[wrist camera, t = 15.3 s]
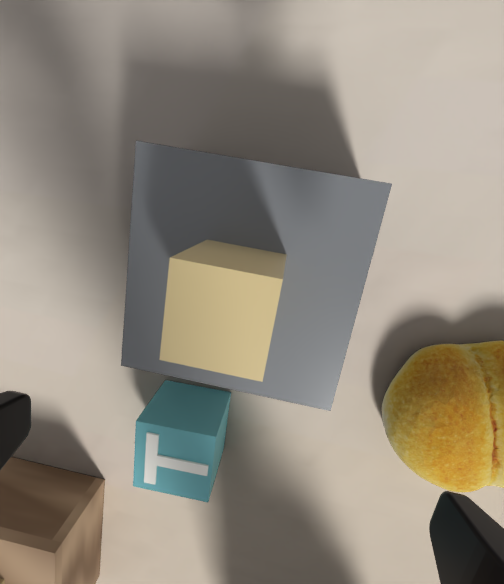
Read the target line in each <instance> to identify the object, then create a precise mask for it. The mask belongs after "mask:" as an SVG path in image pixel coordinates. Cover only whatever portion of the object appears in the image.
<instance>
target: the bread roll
mask: <svg viewBox="0 0 504 584" xmlns="http://www.w3.org/2000/svg"><path fill="white" fill-rule="evenodd" d="M382 420H383V425H384V427H385V431H386V435H387V437H388V439H389V441H390V444H391V446H392V447H393V449H394V451H395V452H396V454H397V455H398V456H399V458H400V459H401V460H402V461H403V462H404V463H405V464H406V465H407V466H408V467H409V468H410V469H411V470H412V471H413V472H415V473H416V474H417V475H419V476H420V477H422V478H423V479H425V480H427V481H429V482H431V483H432V484H435V485H437V486H439V487H441V488H444V489H447V490H450V491H454V492H471V491H475V490H478V489H480V488H482V487H484V486H499V487H502V488H504V341H503V340H500V341H489V342H481V343H472V344H437V345H432V346H427V347H424V348H422V349H419V350H418V351H417V352H415V353H414V354H413V355H412V356H411V357H410V358H409V359H408V360H407V362H406V363H405V364H404V365H403V367H402V368H401V369H400V370H399V372H398V373H397V374H396V376H395V377H394V379H393V380H392V382H391V384H390V386H389V387H388V389H387V391H386V393H385V396H384V399H383V403H382Z"/></svg>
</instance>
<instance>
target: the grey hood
mask: <svg viewBox="0 0 504 584" xmlns="http://www.w3.org/2000/svg"><path fill="white" fill-rule="evenodd" d="M391 185H392V184H390V183H384V182H378V181H372V180H366V179H361V178H355V177H349V176H343V175H337V174H331V173H325V172H319V171H313V170H307V169H301V168H296V167H290V166H284V165H278V164H272V163H266V162H260V161H254V160H248V159H242V158H236V157H230V156H225V155H219V154H213V153H207V152H201V151H195V150H189V149H183V148H177V147H171V146H165V145H160V144H154V143H148V142H142V141H136V148H135V164H134V179H133V194H132V209H131V224H130V239H129V254H128V269H127V284H126V299H125V314H124V329H123V345H122V360H121V366H126V367H130V368H135V369H140V370H144V371H149V372H153V373H158V374H163V375H167V376H172V377H176V378H181V379H186V380H190V381H195V382H199V383H204V384H209V385H213V386H218V387H222V388H227V389H232V390H236V391H241V392H245V393H250V394H255V395H259V396H264V397H268V398H273V399H278V400H282V401H287V402H291V403H296V404H301V405H305V406H310V407H314V408H319V409H324V410H328V411H331V407H332V403H333V399H334V396H335V392H336V388H337V385H338V381H339V377H340V374H341V370H342V366H343V363H344V359H345V355H346V351H347V348H348V344H349V340H350V337H351V333H352V329H353V326H354V322H355V318H356V315H357V311H358V307H359V304H360V300H361V296H362V292H363V289H364V285H365V281H366V278H367V274H368V270H369V267H370V263H371V259H372V256H373V252H374V248H375V244H376V241H377V237H378V233H379V230H380V226H381V222H382V219H383V215H384V211H385V208H386V204H387V200H388V197H389V193H390V189H391Z"/></svg>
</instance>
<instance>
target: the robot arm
mask: <svg viewBox="0 0 504 584" xmlns="http://www.w3.org/2000/svg"><path fill="white" fill-rule="evenodd" d="M30 428H31V399H30V397H29V395H27V394H24V393H20V392H16V391H6V392H3V393H0V470H1V469H2V468H3V467H4V465H5V464H6V463H7V461H8V460H9V459H10V458H11V456H12V455H13V454H14V453H15V451H16V450H17V449H18V447H19V446H20V445H21V444H22V442H23V441H24V440H25V438H26V437H27V435H28V433H29V431H30ZM429 530H430V537H431V542H432V546H433V551H434V556H435V560H436V565H437V569H438V574H439V578H440V583H441V584H504V528H502V527H501V526H500V525H499V524H498V523H497V522H496V521H494V520H493V519H492V518H491V517H490V516H489V515H488V514H486V513H485V512H484V511H483V510H482V509H481V508H480V507H479V506H477V505H476V504H475V503H474V502H473V501H472V500H471V499H469V498H468V497H467V496H465V495H462V494H458V493H453V492H449V491H445V492H443V493H442V494H441V495H440V498H439V500H438V503H437V505H436V508H435V510H434V513H433V515H432V518H431V521H430V527H429Z"/></svg>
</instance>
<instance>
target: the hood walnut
mask: <svg viewBox="0 0 504 584" xmlns="http://www.w3.org/2000/svg"><path fill="white" fill-rule="evenodd" d="M104 485H105V479H101V478H97V477H92V476H88V475H84V474H80V473H76V472H72V471H68V470H63V469H59V468H55V467H51V466H47V465H43V464H39V463H35V462H30V461H26V460H22V459H18V458H14V457H11V458H10V459H9V460H8V461H7V463H6V464H5V465H4V467H3V468H2V469H1V470H0V584H95V583H96V581H97V579H98V577H99V574H100V557H101V539H102V521H103V503H104Z"/></svg>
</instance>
